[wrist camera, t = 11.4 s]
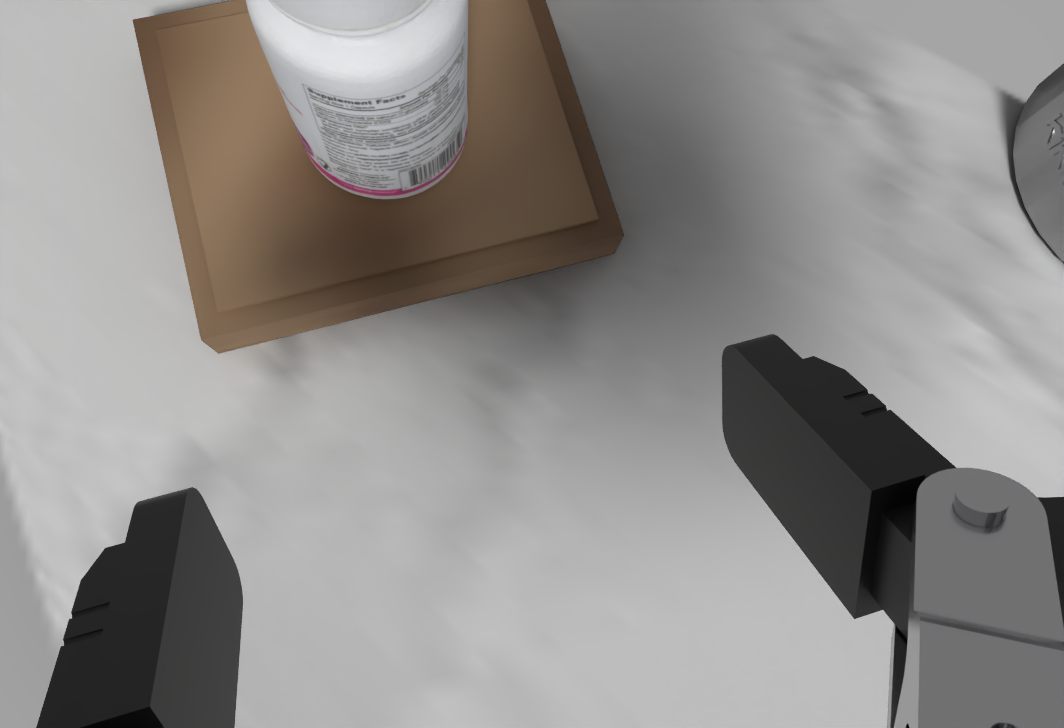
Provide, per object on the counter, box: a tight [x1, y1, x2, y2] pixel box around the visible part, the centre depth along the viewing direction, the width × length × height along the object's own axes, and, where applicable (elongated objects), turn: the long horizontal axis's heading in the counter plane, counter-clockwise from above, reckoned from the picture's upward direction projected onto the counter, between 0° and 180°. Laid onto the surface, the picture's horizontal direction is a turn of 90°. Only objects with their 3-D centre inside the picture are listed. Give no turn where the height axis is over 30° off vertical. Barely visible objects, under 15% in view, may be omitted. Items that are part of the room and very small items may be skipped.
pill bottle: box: [246, 0, 468, 199], centre depth 19 cm, size 5×5×8 cm
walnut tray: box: [133, 0, 624, 353], centre depth 23 cm, size 12×10×2 cm
